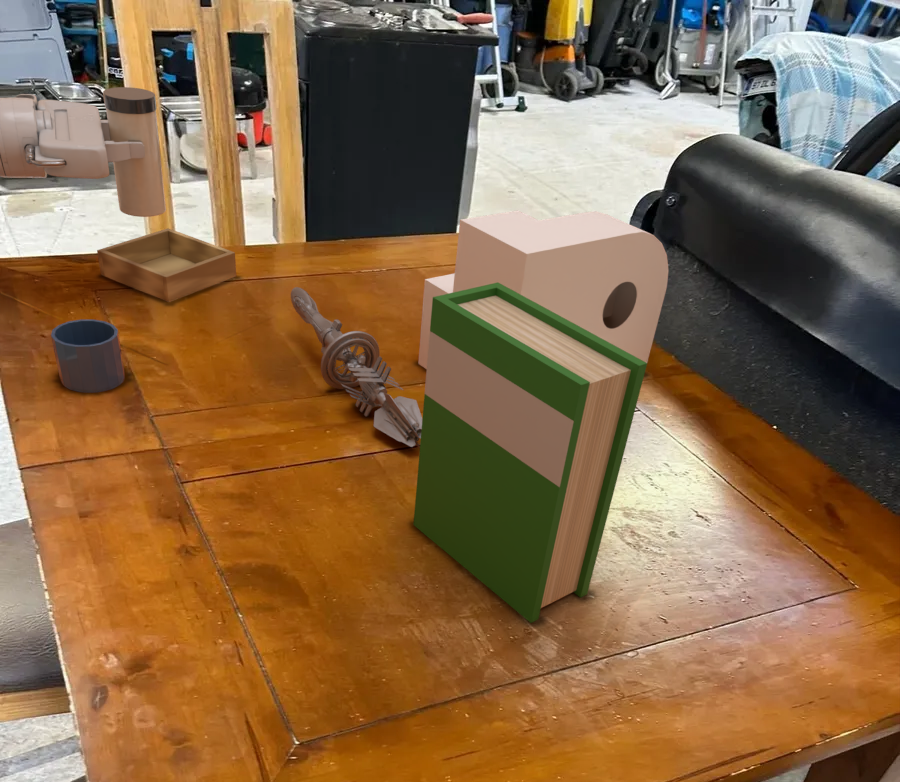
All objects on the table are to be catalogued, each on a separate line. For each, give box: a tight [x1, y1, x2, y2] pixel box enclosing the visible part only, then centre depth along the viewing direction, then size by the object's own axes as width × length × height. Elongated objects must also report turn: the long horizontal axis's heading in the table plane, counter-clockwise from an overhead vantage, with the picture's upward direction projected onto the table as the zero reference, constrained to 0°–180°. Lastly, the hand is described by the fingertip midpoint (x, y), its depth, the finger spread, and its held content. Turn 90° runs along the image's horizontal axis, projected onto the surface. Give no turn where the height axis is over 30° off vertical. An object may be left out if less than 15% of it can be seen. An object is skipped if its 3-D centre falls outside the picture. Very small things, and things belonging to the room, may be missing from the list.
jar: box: [102, 86, 167, 218], centre depth 115 cm, size 6×6×14 cm
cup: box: [50, 318, 126, 394], centre depth 104 cm, size 7×7×6 cm
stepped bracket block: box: [417, 209, 670, 370], centre depth 113 cm, size 26×17×20 cm, turn 128°
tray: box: [96, 227, 237, 303], centre depth 130 cm, size 14×14×4 cm
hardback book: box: [412, 282, 648, 624], centre depth 80 cm, size 18×7×24 cm, turn 39°
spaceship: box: [290, 286, 423, 449], centre depth 108 cm, size 8×35×8 cm
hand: (141, 140), depth 115 cm, fingers closed on jar, 6 cm apart
